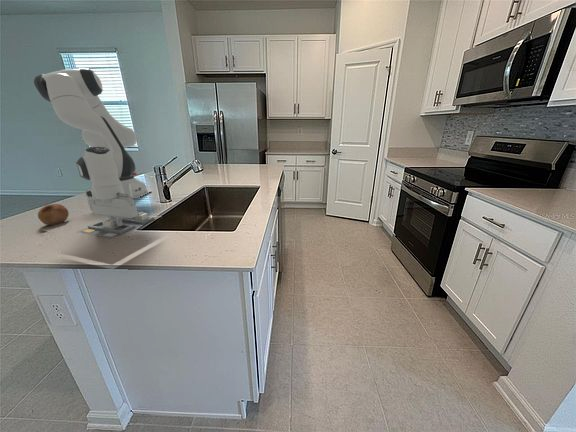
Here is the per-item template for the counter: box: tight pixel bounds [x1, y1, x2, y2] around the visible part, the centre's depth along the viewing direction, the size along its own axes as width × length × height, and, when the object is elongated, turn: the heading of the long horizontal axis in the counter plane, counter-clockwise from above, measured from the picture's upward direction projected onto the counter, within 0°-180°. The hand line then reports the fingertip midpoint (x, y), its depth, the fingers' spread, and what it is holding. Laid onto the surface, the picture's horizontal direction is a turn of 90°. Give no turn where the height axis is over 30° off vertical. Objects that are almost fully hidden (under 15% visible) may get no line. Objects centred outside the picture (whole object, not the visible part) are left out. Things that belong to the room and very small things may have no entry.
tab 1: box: [101, 218, 119, 229], centre depth 97 cm, size 3×4×4 cm
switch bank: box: [77, 213, 163, 239], centre depth 102 cm, size 24×18×2 cm
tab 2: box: [135, 211, 149, 221], centre depth 104 cm, size 3×4×4 cm
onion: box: [37, 203, 69, 226], centre depth 102 cm, size 10×9×10 cm
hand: (118, 225), depth 96 cm, fingers closed
